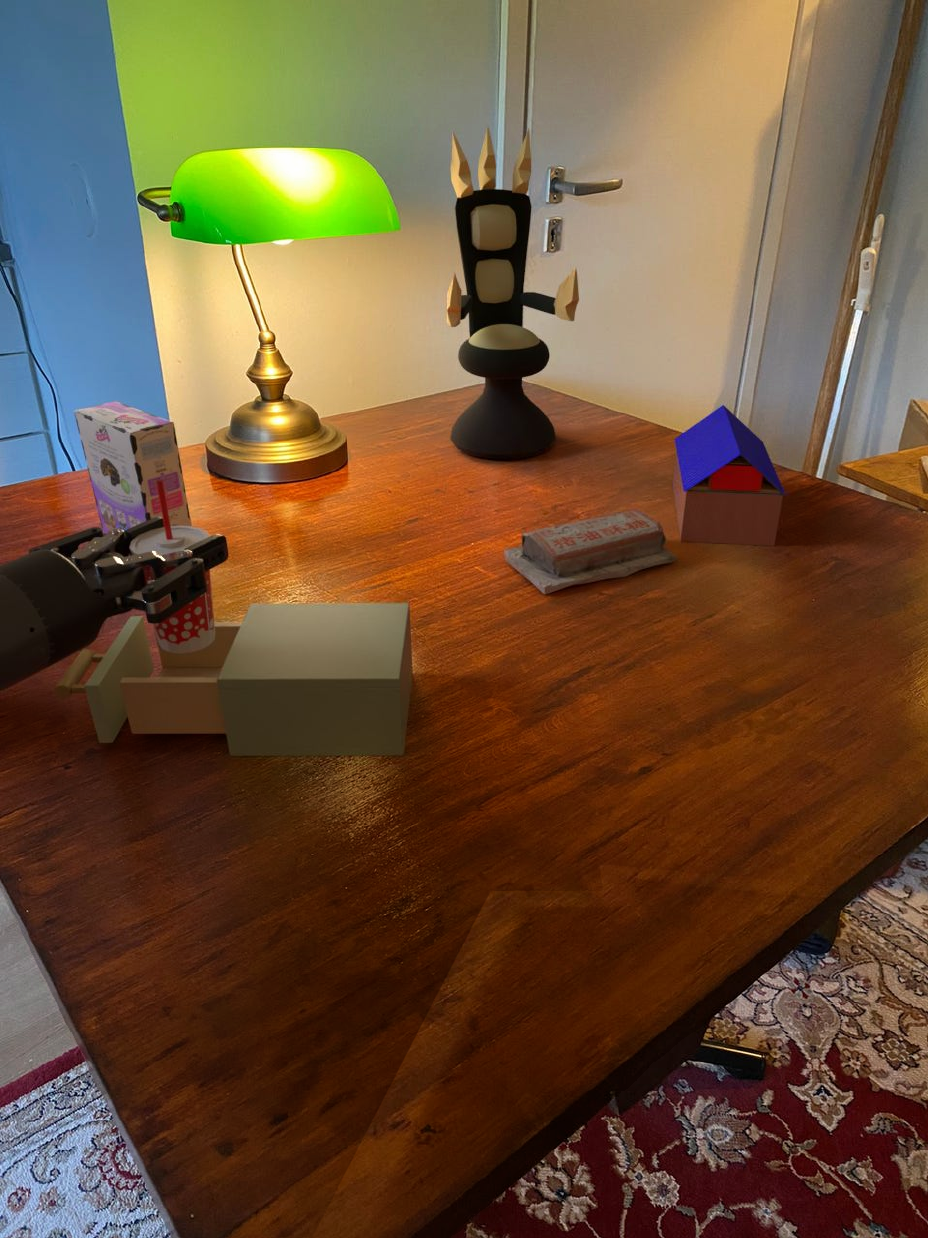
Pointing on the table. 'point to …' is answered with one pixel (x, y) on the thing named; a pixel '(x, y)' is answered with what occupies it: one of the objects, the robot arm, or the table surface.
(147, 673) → the drawer
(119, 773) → the table surface
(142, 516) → the candy box
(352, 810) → the table surface
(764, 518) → the house
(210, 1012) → the table surface
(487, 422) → the spiked throne chair
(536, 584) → the packaged product
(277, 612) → the cabinet
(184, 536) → the beverage cup
